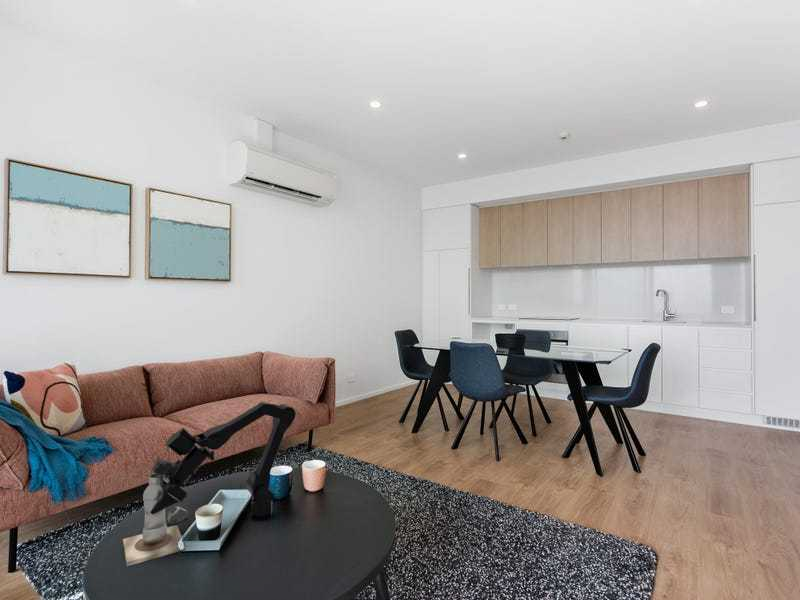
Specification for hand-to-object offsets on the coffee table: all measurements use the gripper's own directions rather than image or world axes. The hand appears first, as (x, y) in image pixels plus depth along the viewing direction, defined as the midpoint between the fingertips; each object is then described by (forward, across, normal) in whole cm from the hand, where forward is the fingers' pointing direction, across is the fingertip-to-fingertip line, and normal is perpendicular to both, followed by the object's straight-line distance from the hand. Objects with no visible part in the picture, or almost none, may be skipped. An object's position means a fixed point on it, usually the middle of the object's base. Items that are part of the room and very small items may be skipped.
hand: (149, 507), depth 129 cm
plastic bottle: (+7, 0, +9) cm, 11 cm away
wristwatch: (+2, -12, +16) cm, 20 cm away
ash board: (+8, 0, +10) cm, 12 cm away
